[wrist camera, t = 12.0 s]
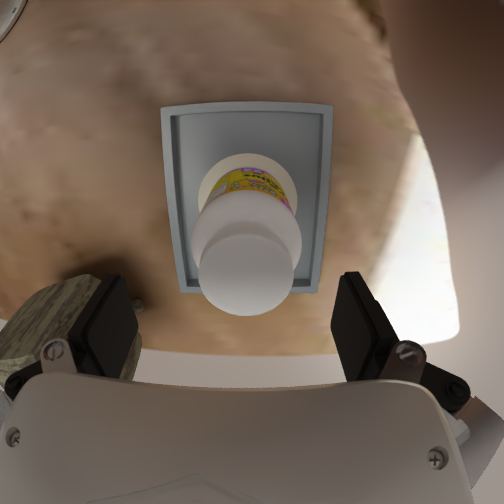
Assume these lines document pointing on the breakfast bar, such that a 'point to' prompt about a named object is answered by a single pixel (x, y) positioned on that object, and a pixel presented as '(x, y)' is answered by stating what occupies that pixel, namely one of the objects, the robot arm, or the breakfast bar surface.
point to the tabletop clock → (53, 325)
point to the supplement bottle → (246, 243)
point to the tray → (248, 155)
